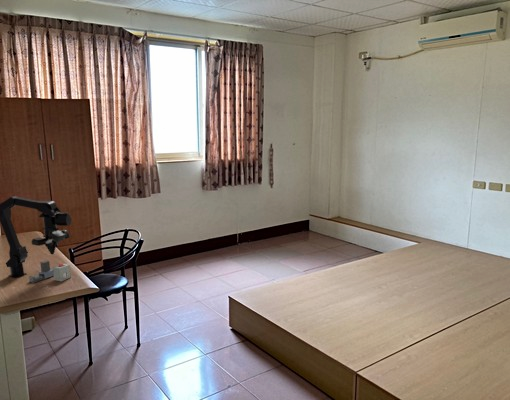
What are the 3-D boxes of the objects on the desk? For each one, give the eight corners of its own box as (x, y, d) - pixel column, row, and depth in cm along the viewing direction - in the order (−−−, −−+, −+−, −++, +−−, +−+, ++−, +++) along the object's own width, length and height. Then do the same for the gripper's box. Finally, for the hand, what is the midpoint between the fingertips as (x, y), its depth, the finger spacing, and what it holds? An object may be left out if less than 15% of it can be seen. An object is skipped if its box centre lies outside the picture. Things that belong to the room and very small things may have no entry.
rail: (29, 281, 221) (29, 276, 220) (51, 273, 232) (51, 268, 232) (33, 282, 219) (33, 277, 219) (55, 274, 231) (55, 269, 230)
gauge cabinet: (54, 280, 223) (52, 267, 222) (64, 276, 228) (62, 263, 227) (61, 281, 220) (60, 268, 219) (71, 277, 226) (70, 264, 224)
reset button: (58, 270, 223) (58, 264, 222) (62, 269, 225) (61, 263, 224) (61, 271, 222) (60, 264, 222) (64, 270, 224) (64, 263, 223)
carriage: (38, 277, 227) (37, 262, 225) (47, 274, 231) (45, 259, 230) (45, 278, 224) (43, 263, 223) (53, 275, 229) (52, 260, 227)
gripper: (44, 231, 214) (46, 261, 217) (75, 223, 230) (77, 251, 233) (29, 228, 219) (32, 258, 222) (61, 221, 235) (63, 249, 238)
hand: (52, 254), depth 228 cm, fingers closed
